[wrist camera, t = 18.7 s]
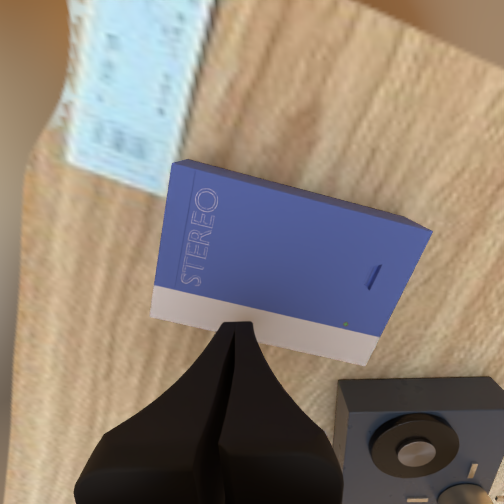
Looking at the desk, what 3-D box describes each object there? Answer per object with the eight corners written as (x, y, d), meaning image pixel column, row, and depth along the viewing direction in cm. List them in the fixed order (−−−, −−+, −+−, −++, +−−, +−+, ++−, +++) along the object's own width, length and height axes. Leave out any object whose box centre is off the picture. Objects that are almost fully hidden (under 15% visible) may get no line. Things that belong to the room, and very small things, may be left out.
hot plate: (477, 489, 23) (503, 531, 21) (329, 490, 23) (337, 532, 21) (520, 375, 19) (560, 411, 16) (337, 379, 19) (349, 415, 17)
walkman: (404, 216, 15) (180, 157, 14) (434, 232, 12) (162, 160, 12) (349, 335, 18) (159, 291, 17) (364, 368, 15) (141, 318, 14)
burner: (445, 470, 18) (452, 482, 18) (364, 470, 19) (368, 482, 18) (462, 411, 17) (471, 422, 16) (372, 413, 17) (377, 424, 16)
